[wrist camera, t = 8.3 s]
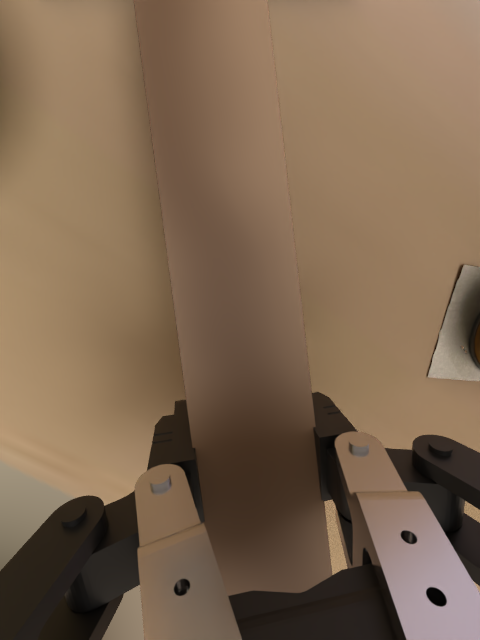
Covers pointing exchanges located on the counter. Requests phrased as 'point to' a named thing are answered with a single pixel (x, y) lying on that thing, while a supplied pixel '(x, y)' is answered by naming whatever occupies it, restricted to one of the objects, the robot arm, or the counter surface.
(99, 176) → the counter surface
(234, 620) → the robot arm
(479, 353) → the condiment
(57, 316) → the counter surface
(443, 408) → the counter surface
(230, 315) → the push bar
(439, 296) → the counter surface
